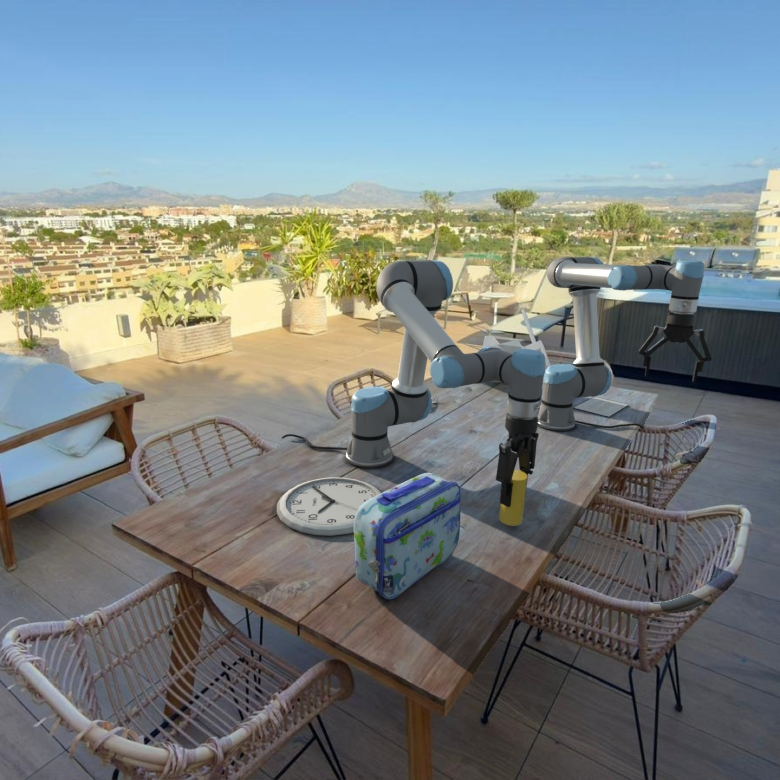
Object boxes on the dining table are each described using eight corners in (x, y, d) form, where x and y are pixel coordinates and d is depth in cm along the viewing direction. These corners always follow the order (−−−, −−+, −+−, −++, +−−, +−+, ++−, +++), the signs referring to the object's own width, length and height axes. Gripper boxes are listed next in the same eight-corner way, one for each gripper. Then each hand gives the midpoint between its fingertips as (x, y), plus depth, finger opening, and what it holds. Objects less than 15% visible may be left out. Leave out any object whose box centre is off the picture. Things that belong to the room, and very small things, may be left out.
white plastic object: (490, 422, 261) (470, 399, 236) (471, 348, 283) (451, 320, 258) (563, 398, 249) (550, 371, 224) (537, 323, 271) (522, 291, 246)
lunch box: (382, 612, 103) (384, 519, 97) (347, 586, 110) (346, 498, 104) (464, 557, 121) (469, 475, 114) (429, 538, 128) (432, 460, 122)
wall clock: (392, 527, 129) (268, 531, 127) (391, 533, 130) (269, 537, 127) (383, 473, 158) (282, 475, 155) (383, 478, 158) (282, 480, 156)
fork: (422, 410, 217) (423, 406, 216) (433, 399, 231) (433, 395, 231) (428, 411, 216) (429, 407, 216) (438, 400, 230) (439, 396, 230)
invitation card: (608, 416, 214) (573, 407, 224) (608, 416, 214) (573, 408, 224) (628, 404, 229) (594, 396, 238) (628, 405, 229) (594, 397, 238)
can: (494, 519, 133) (499, 475, 129) (505, 510, 137) (510, 467, 133) (515, 528, 130) (520, 482, 126) (525, 518, 134) (531, 474, 130)
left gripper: (512, 429, 116) (502, 519, 123) (557, 410, 128) (545, 493, 135) (485, 419, 121) (477, 507, 128) (530, 402, 133) (521, 483, 141)
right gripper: (637, 310, 162) (627, 376, 168) (731, 317, 152) (716, 386, 159) (637, 307, 168) (627, 371, 175) (727, 313, 159) (712, 380, 165)
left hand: (512, 500), depth 132 cm, fingers closed on can, 6 cm apart
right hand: (669, 378), depth 167 cm, fingers open, 13 cm apart
